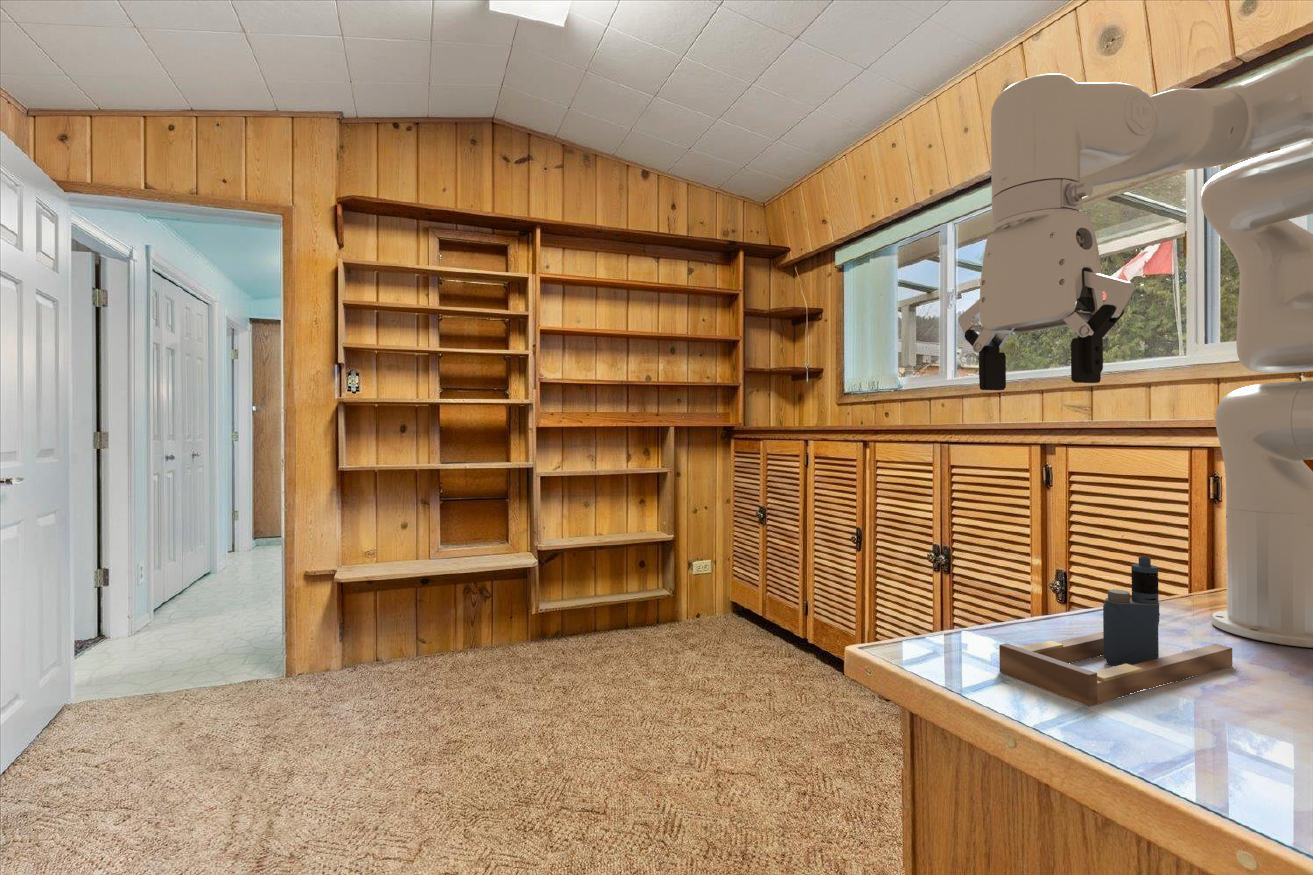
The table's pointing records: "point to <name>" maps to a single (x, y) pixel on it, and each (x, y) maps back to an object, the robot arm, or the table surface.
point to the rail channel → (1056, 675)
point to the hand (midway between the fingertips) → (1036, 386)
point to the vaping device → (1133, 618)
